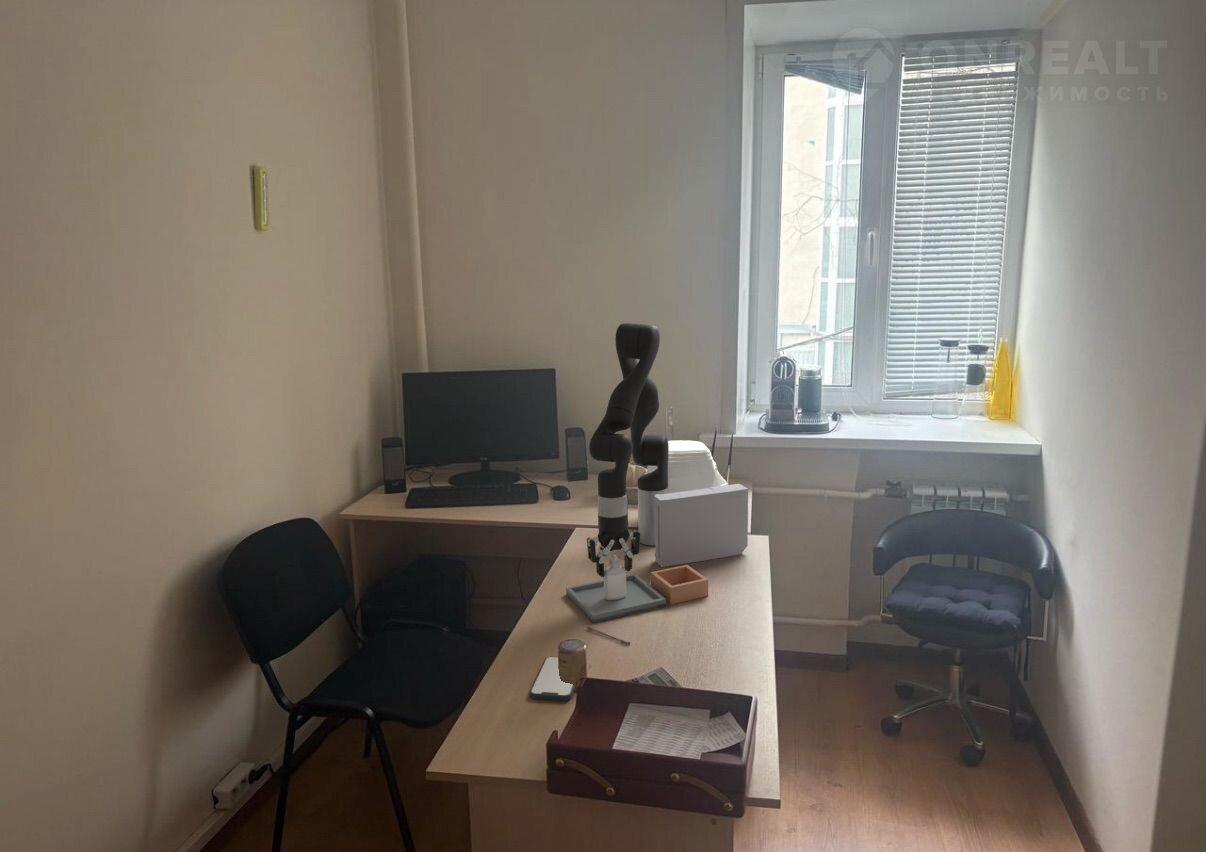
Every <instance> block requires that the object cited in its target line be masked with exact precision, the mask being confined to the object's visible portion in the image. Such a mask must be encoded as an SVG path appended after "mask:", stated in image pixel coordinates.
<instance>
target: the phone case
mask: <svg viewBox="0 0 1206 852" xmlns="http://www.w3.org/2000/svg"><path fill="white" fill-rule="evenodd" d="M558 657H559V656H547V657H545V658H544V661H543V663H542V665H541V667H540V668H539V669H540V670H539V671H538V674H537V676H536V678H535V680H534V681H533V684H532V687H531V689H530V690H529V698H530V699H531V700H535V701H549V702H551V701H553V702H564V703H566V702H569V701H570V700H572V697H573V695H574V694H575V693H574V692H575V691H576V688H575V686H574V685H573V684H570V683H565V682H563V681H561V679H560V676H559V669H558Z"/></svg>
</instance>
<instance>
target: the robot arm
mask: <svg viewBox="0 0 1206 852" xmlns="http://www.w3.org/2000/svg"><path fill="white" fill-rule="evenodd" d="M660 337H661V336H660V331H659V328H658V327H657V326H656V325H652V324H645V323H633V322H625V323H624V322H623V323H620V324H619V325H618V326H617V328H616V332H615V338H614V339H615V340H614V341H615V349H616V350H615V351H616V354H617V357H618V358H617V359H618V362H619V366H620V370H621V374H622V380H621V381H620V383H618V384H617V385H616V386H615V388H614V389H613V391H612V392H611V394H610V397H609V400H608V404H607V406H606V407H607V408H606V411H605V414H604V417H603V418H602V420H601V422H600V423H599V425H598V426H597V428H596V429H595V431H594V433H593V435H592V436H591V438H590V440H589V446H588V449H589V454H590V457H592V458H591V459H593V460H595V461H598V462H605V463H606V462H608V463H609V462H610V463H615V466H614V468H609V469H603V470H600V472H599V473H598V475H597V492H598V493H597V494H598V495H597V528H598V534H597V536H595V537H587V539H586V545H587V546H586V547H587V555H588V557H587V558H588V560H590V561H591V563H593V564H594V563H595V566H596V573H597V575H598V576H599V577H600V578H604V571H605V563H604V561H605V560H606V557H607V556H608V555H609V553H610V552H614V551H620V550H621V551H623V554H624V555H623V557H624V558H623V560H624V561H623V564H624V566H623V567H624V568H625V570H626V573H627V572H631V570H632V569H633V557H634V556H635V555H639V553H640V545H641V544H643V545H645V546H655V547H656V543H655V511H654V508H655V506H654V502H655V501H654V496H655V495H656V494H668V454H669V444H668V441H669V440H668V436H666V435H661V434H644V432H645V430H646V428H648V426H649V425H650V423H651V422H652V421H653V420H654V419H655V417H656V416H657V414H658V412H659V409H660V401H659V399H660V398H659V390H658V387H657V385H656V384H655V382H654V380H653V379H652V378H651V376H649V375H650V372H651V369H652V368H653V365H654V363H655V360H656V357H657V355H658V352H659V347H660ZM637 360H638V361H637ZM628 429H630V436H628V435H627V434H624V433H617V432H621V431H627V430H628ZM631 458H632V460H633V462H634V464H635V465H638V466H645V467H648V466H657V469H656V470H655V471H653V472H651V473H648V474H647V473H646V474H642V475H640V476H639V478H638V479H637V525H638V526H637V528H638V529H637V530H636V529H635V528H633V529H632V530H631V531H629V512H628V511H629V506H628V505H629V504H628V498H627V497H628V496H627V476H628V475H627V473H628V470H629V469H628V468H629V465H630V461H631ZM629 538H630V547H629V546H628V544H627V541H628V540H629ZM598 543H599V547H598V550H596V549H597V548H596V547H597V546H598Z"/></svg>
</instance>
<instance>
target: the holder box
mask: <svg viewBox="0 0 1206 852" xmlns="http://www.w3.org/2000/svg"><path fill="white" fill-rule="evenodd" d="M680 583H681V584H680ZM650 586H651V587H652V588H653V589H655V590H656V591H657V592H658V593H659V594H661V595H662V596H663V597H664V598H666V603H668V604H669V605H675V604H679V603H683V602H687V601H692V600H696V599H700V598H705V597H708V596H709V579H708V578H707V577H705V576H704V575H703V574H701V573H699V572H698V571H697V570H695V569H694V568H693V567H691V566H689V565H688V564H682V565H680V566H679V565H678V566H675V567H674V566H673V567H669V568H666V569H661V570H655V571H651V572H650Z"/></svg>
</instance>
